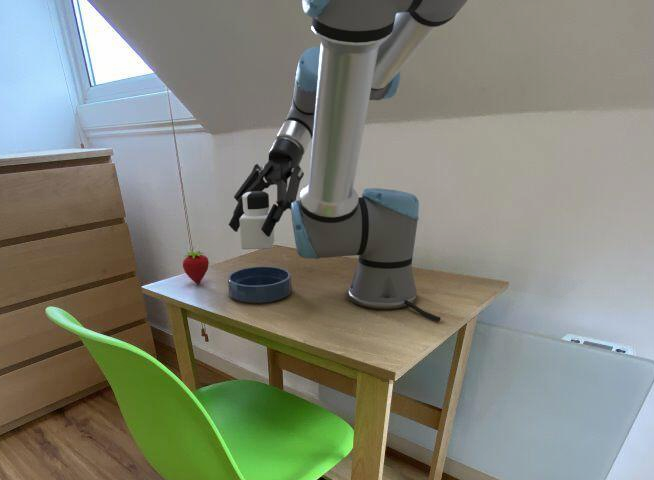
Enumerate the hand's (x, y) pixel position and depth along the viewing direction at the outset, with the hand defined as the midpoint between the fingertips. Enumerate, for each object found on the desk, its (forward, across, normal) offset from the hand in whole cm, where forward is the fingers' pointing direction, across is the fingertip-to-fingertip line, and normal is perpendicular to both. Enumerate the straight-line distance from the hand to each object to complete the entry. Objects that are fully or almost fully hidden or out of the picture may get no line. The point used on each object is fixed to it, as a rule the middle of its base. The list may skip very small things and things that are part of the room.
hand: (248, 230), depth 101 cm
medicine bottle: (+1, 0, -5) cm, 5 cm away
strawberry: (+13, +16, -8) cm, 22 cm away
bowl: (+10, -2, -11) cm, 15 cm away
